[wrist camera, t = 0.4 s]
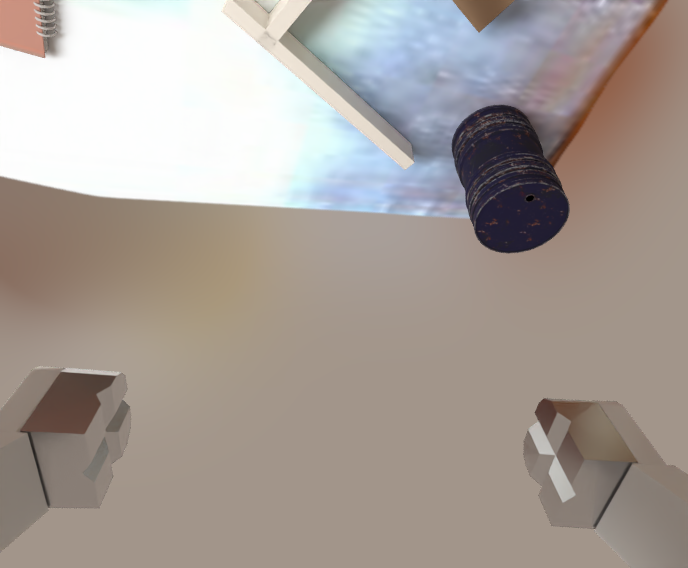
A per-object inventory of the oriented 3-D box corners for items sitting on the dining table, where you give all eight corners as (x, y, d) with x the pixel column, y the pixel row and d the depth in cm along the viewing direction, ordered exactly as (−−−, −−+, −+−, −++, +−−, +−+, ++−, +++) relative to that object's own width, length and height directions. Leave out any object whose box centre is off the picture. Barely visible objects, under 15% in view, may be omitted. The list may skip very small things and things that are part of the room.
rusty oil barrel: (517, 175, 67) (551, 255, 57) (444, 173, 66) (464, 253, 56) (543, 104, 59) (586, 182, 49) (460, 102, 59) (487, 179, 49)
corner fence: (314, -126, 43) (313, -115, 41) (489, 77, 57) (496, 95, 54) (227, -4, 50) (221, 11, 47) (401, 151, 64) (405, 170, 61)
